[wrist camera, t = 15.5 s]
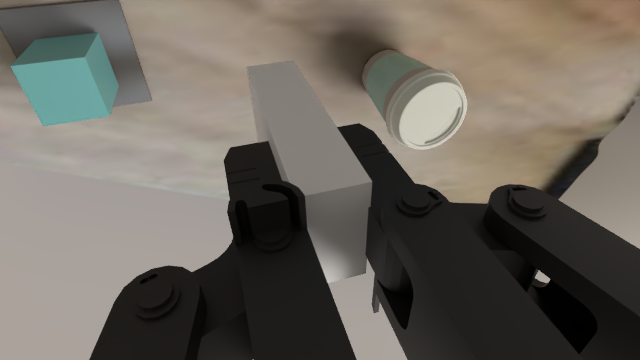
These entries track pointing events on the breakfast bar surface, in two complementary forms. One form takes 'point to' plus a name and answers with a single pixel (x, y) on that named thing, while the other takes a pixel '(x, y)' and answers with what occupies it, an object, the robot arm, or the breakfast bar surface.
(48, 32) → the grey square base stand
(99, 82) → the teal rectangular block
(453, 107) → the coffee cup
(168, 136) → the breakfast bar surface
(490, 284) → the robot arm
